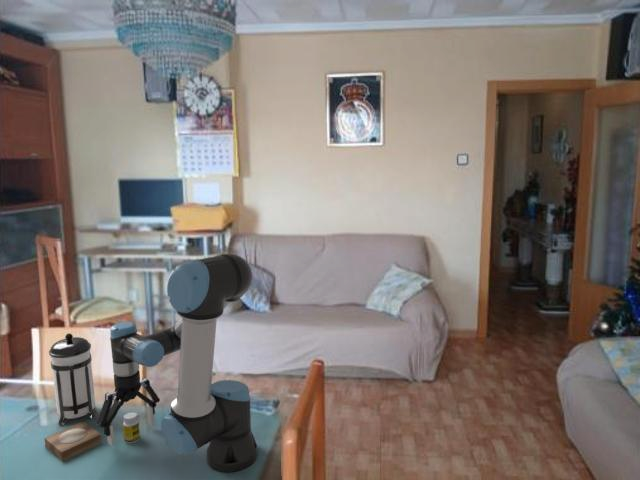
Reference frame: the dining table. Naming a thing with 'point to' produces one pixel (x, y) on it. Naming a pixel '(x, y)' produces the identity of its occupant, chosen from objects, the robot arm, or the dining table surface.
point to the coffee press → (72, 378)
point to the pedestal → (72, 441)
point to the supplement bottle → (131, 428)
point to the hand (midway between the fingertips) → (131, 433)
